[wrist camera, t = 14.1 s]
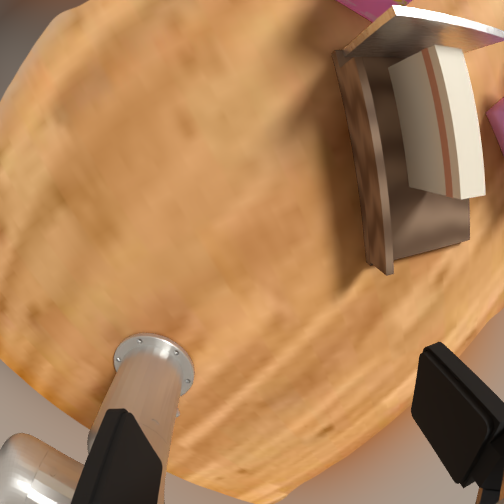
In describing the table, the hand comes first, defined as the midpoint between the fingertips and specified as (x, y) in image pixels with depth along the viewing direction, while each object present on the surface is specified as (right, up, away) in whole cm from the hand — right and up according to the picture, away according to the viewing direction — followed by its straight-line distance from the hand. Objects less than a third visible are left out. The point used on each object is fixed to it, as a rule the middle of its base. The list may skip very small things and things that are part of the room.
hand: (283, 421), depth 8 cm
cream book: (+20, +21, +25) cm, 39 cm away
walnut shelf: (+21, +19, +28) cm, 39 cm away
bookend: (+18, +31, +22) cm, 42 cm away
